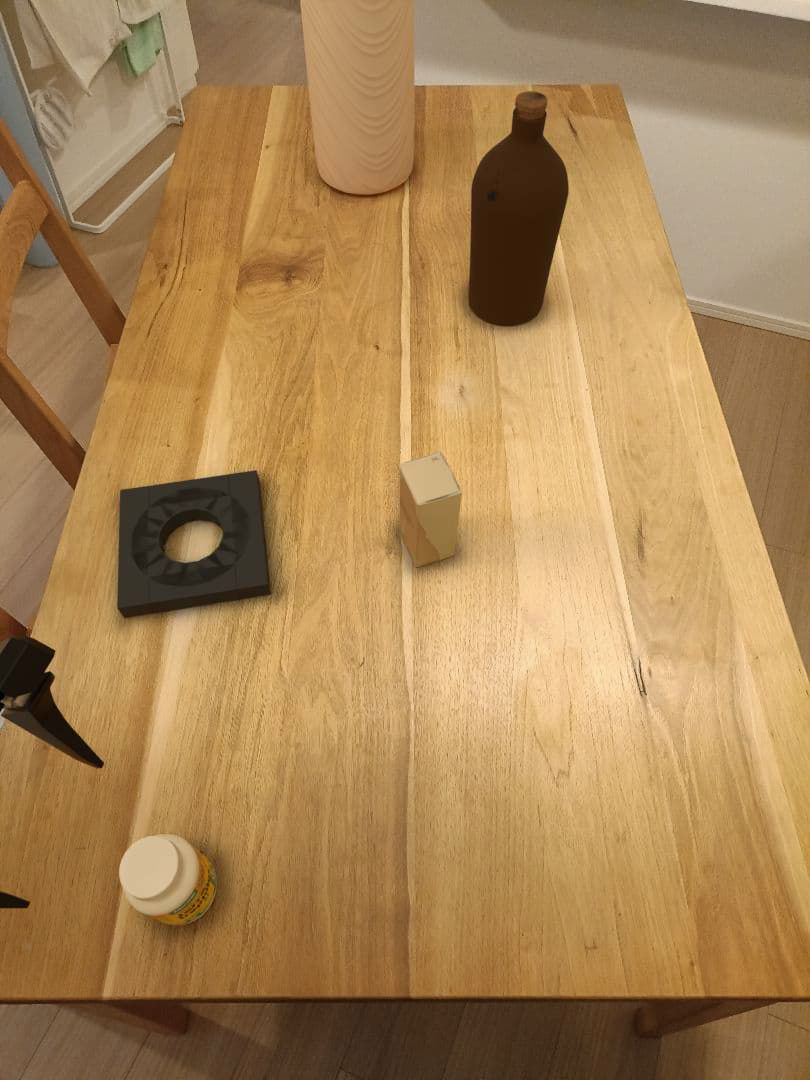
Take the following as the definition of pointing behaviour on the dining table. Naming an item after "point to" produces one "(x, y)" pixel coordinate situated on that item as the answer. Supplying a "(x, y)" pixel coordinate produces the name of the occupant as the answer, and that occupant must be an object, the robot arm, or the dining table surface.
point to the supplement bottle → (167, 879)
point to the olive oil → (516, 218)
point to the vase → (361, 91)
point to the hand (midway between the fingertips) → (65, 832)
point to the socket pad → (213, 579)
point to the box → (428, 508)
